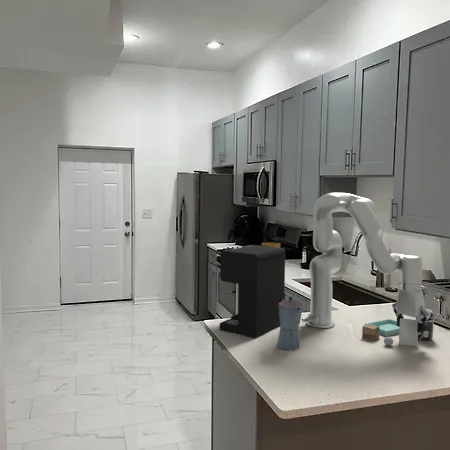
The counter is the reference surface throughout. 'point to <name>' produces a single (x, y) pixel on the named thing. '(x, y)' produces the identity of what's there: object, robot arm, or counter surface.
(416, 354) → the counter surface
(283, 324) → the moka pot
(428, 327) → the beverage can
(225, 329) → the coffee maker
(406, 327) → the white box
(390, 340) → the grey ball
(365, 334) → the walnut block
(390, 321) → the tray
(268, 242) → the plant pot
